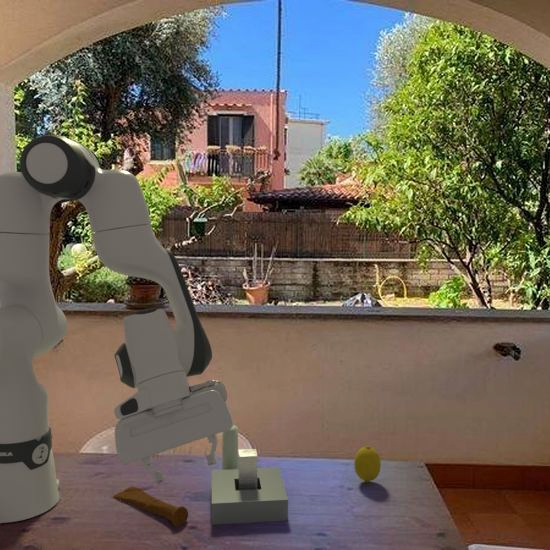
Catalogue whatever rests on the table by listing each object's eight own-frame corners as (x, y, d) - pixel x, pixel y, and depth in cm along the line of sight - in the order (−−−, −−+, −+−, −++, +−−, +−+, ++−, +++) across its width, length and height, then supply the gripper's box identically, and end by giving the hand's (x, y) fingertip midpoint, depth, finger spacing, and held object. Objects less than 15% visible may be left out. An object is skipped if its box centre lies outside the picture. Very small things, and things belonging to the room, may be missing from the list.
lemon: (383, 479, 117) (384, 444, 116) (375, 490, 112) (376, 453, 111) (358, 474, 119) (359, 439, 119) (350, 484, 114) (351, 448, 114)
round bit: (219, 473, 119) (219, 429, 118) (227, 467, 122) (227, 424, 122) (233, 476, 118) (233, 431, 117) (240, 470, 121) (240, 426, 120)
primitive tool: (110, 498, 108) (110, 481, 108) (133, 488, 113) (133, 472, 112) (175, 532, 97) (175, 513, 96) (197, 519, 101) (197, 501, 101)
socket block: (211, 524, 98) (211, 503, 98) (211, 488, 112) (211, 469, 112) (287, 520, 100) (288, 499, 100) (278, 485, 114) (278, 467, 113)
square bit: (239, 506, 105) (239, 456, 104) (238, 498, 108) (238, 449, 107) (257, 505, 105) (257, 456, 104) (255, 497, 109) (255, 448, 108)
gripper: (223, 377, 99) (245, 452, 96) (114, 412, 97) (133, 490, 94) (220, 374, 93) (244, 454, 90) (104, 412, 91) (124, 495, 88)
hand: (186, 473), depth 92 cm, fingers open, 8 cm apart
